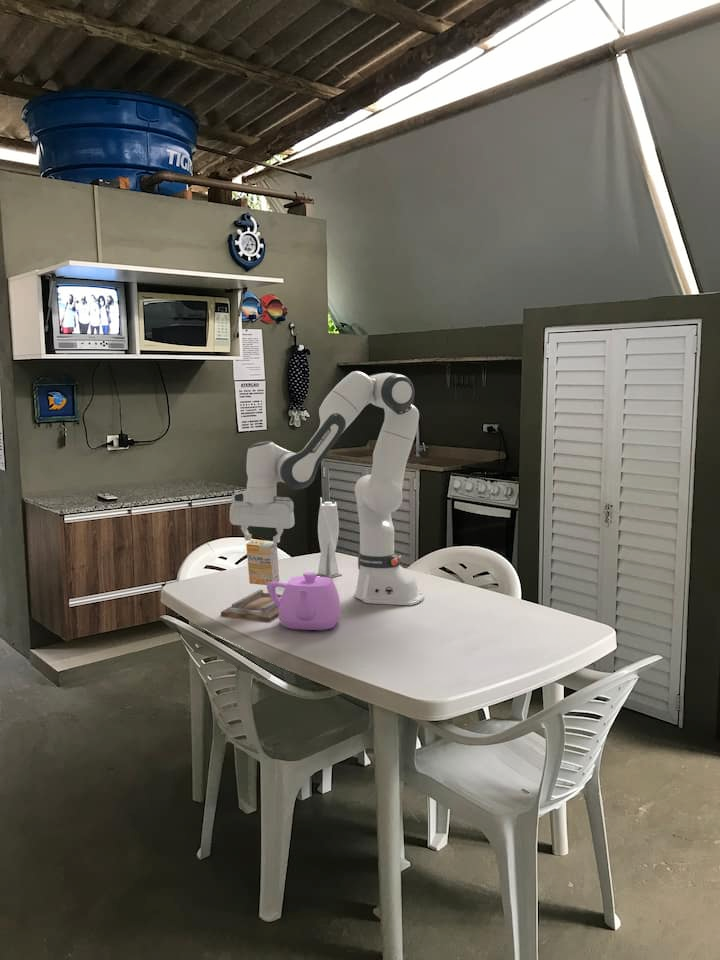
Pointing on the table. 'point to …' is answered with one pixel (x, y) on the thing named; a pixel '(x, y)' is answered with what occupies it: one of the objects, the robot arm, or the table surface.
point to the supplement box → (262, 562)
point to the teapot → (307, 602)
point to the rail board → (254, 607)
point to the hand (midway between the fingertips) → (262, 541)
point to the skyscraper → (328, 539)
